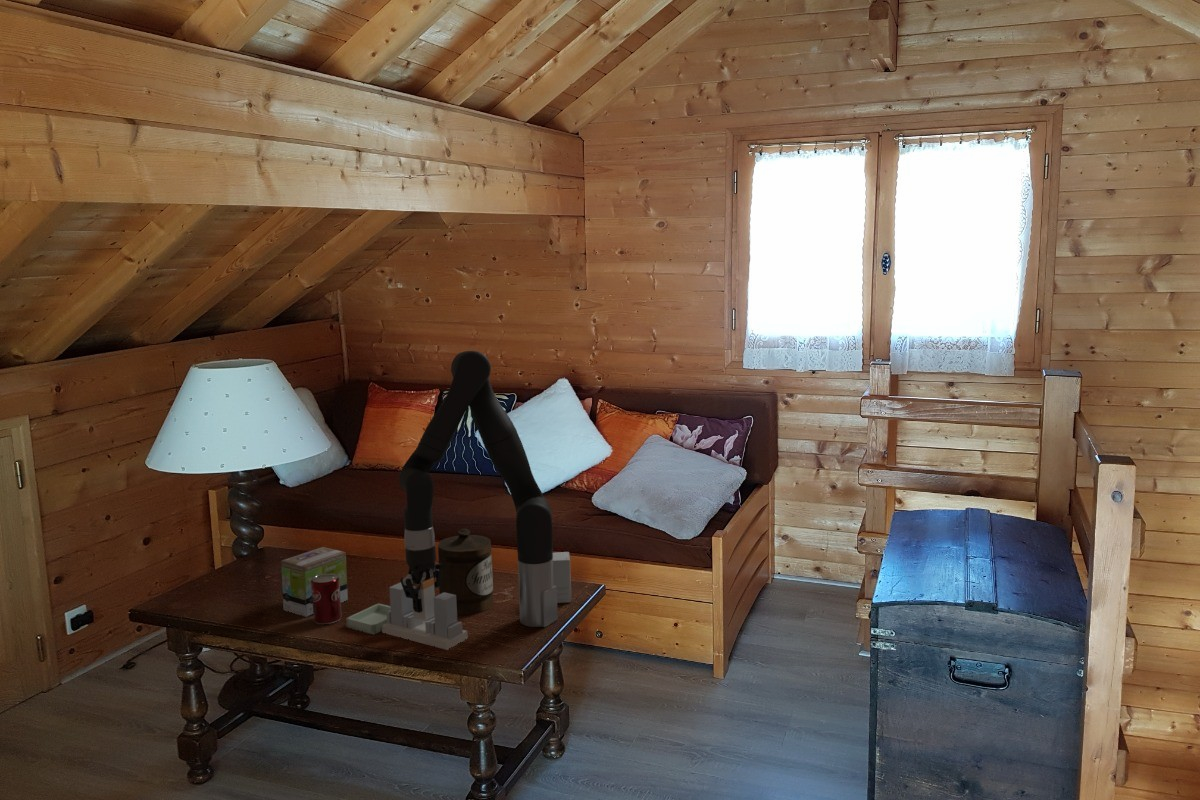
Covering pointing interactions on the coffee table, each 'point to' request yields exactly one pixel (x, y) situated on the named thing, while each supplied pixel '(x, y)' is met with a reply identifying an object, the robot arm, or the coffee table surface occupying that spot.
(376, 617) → the tray
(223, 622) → the coffee table surface
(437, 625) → the block
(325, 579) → the soda can
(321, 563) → the tea box
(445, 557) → the wooden container
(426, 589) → the block
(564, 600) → the supplement box
